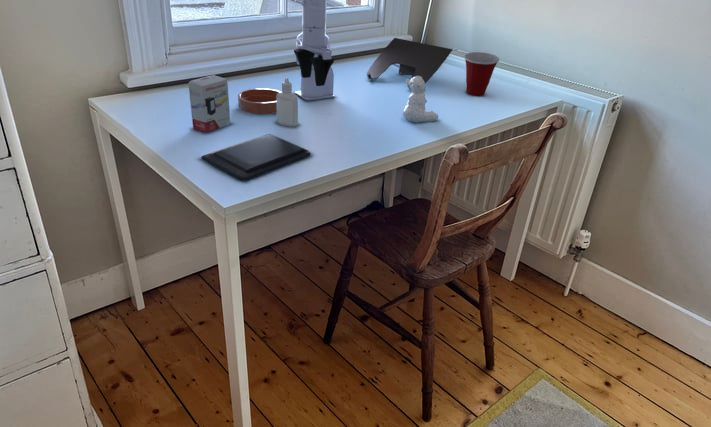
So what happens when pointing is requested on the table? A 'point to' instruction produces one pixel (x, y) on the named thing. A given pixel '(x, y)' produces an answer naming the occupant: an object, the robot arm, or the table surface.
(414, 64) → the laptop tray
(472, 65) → the plastic cup
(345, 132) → the table surface
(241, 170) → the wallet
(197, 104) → the ink box
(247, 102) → the bowl
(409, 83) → the white creature statuette
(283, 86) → the eye dropper bottle
